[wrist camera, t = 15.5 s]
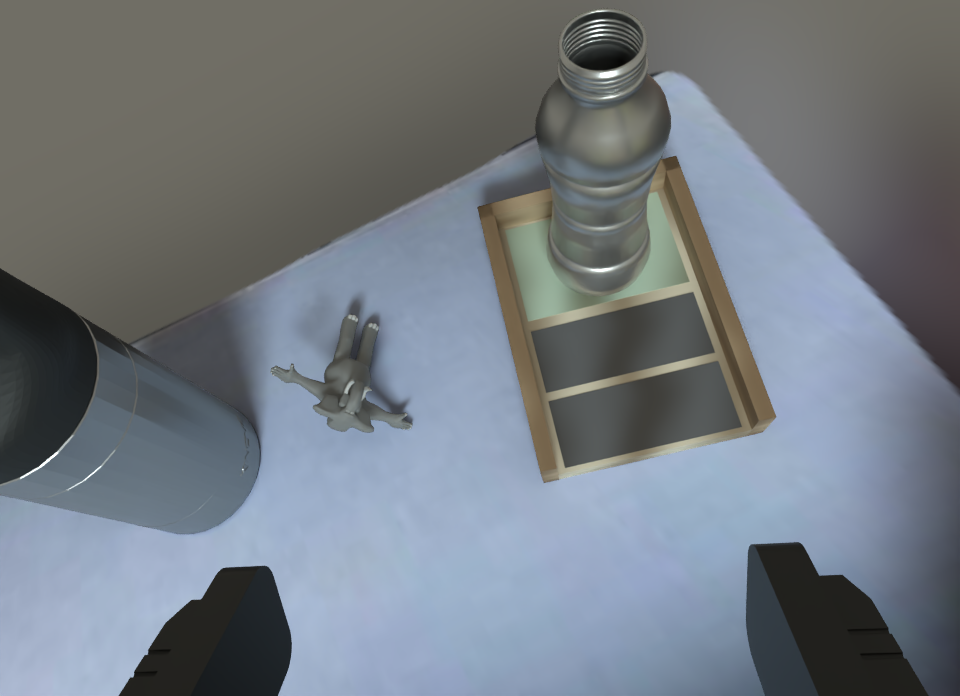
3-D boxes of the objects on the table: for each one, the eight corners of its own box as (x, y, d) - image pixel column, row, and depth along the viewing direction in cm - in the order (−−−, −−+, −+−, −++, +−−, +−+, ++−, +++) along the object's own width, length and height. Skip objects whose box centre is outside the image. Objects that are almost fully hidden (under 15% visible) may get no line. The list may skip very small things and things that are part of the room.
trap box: (543, 482, 45) (540, 471, 41) (484, 232, 52) (477, 206, 49) (762, 432, 44) (776, 416, 41) (670, 185, 51) (676, 155, 48)
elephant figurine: (442, 332, 50) (430, 438, 44) (400, 375, 54) (384, 477, 48) (313, 268, 46) (279, 375, 40) (278, 319, 50) (242, 423, 44)
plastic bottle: (555, 219, 50) (534, -19, 31) (653, 227, 48) (691, -17, 30) (541, 301, 48) (509, 97, 29) (643, 312, 46) (677, 106, 28)
